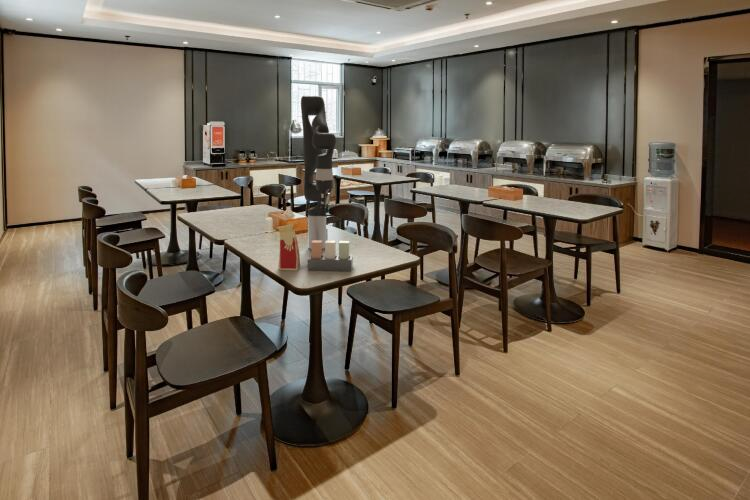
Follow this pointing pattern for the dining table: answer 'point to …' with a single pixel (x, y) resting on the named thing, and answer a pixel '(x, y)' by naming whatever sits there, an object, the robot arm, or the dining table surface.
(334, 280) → the dining table surface
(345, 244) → the sage key
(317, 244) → the terracotta key
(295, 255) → the milk carton
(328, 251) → the ivory key
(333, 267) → the frame
